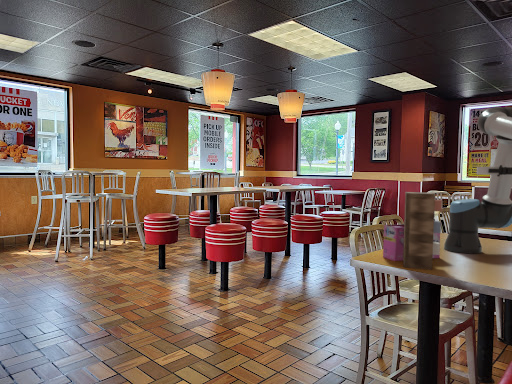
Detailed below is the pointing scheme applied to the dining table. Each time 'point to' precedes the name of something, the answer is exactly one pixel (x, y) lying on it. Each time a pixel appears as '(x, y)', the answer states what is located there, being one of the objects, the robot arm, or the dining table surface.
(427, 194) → the brown tall box
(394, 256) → the gum box
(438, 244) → the white rectangular block
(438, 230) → the blue-grey rectangular block
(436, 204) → the red key
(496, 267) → the dining table surface
